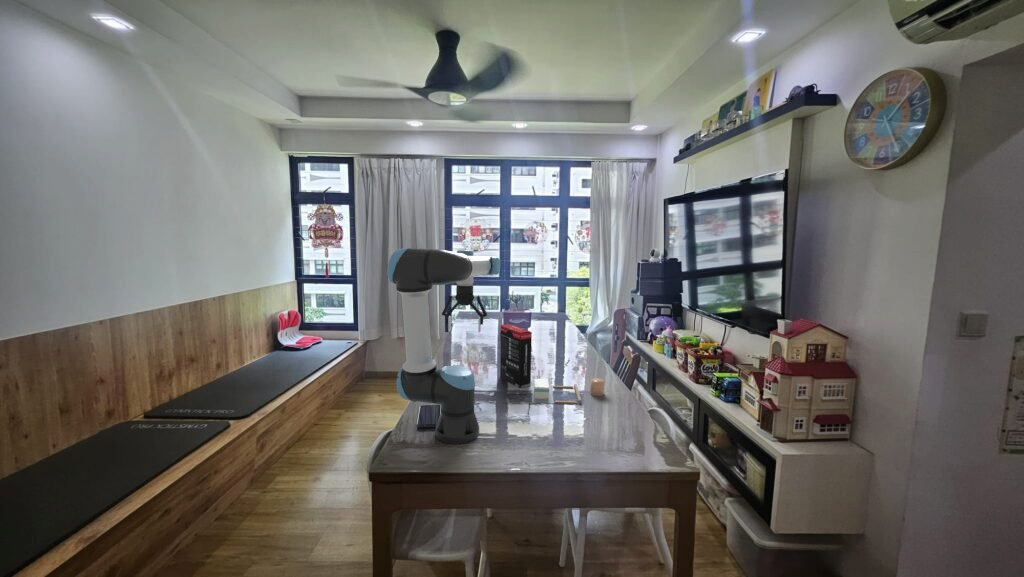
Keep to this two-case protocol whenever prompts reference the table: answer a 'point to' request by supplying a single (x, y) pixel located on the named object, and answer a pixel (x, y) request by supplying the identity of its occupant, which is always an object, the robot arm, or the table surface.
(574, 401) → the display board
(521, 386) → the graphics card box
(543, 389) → the carton
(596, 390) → the wooden block
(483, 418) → the table surface
